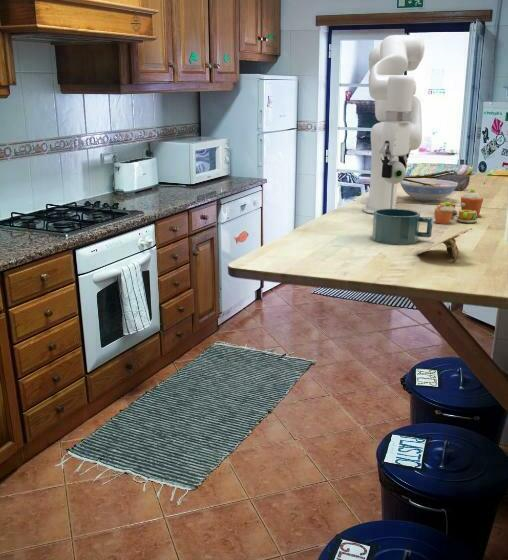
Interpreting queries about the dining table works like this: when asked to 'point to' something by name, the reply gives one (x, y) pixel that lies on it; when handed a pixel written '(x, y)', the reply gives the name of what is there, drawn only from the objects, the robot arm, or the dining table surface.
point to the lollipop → (396, 176)
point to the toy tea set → (468, 211)
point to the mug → (399, 226)
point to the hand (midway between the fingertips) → (393, 176)
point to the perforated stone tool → (457, 180)
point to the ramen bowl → (428, 188)
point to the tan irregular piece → (451, 245)
